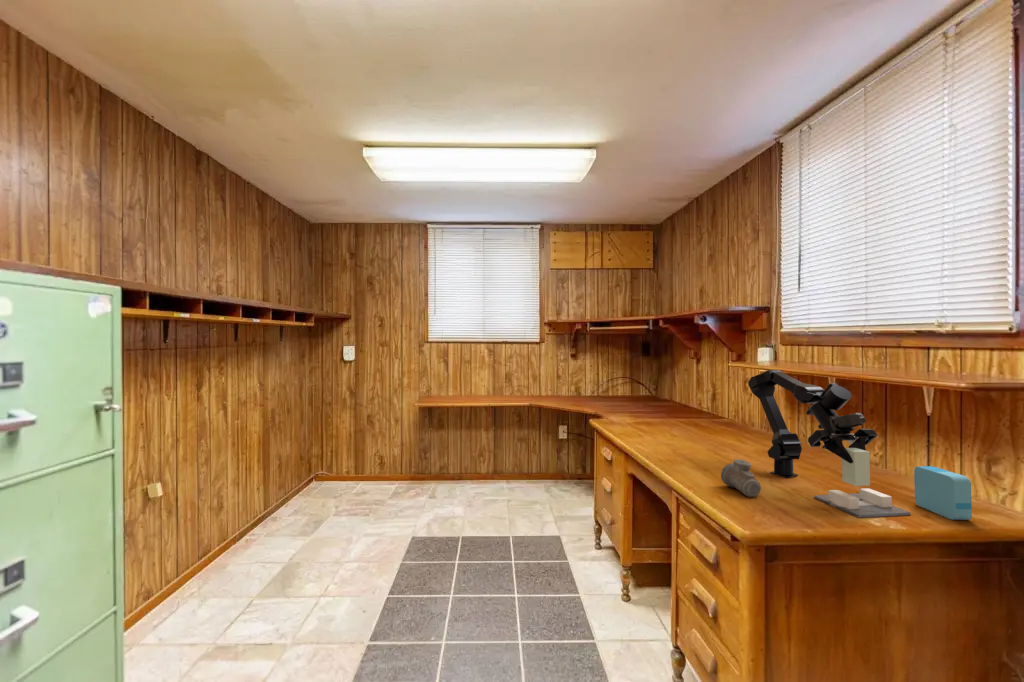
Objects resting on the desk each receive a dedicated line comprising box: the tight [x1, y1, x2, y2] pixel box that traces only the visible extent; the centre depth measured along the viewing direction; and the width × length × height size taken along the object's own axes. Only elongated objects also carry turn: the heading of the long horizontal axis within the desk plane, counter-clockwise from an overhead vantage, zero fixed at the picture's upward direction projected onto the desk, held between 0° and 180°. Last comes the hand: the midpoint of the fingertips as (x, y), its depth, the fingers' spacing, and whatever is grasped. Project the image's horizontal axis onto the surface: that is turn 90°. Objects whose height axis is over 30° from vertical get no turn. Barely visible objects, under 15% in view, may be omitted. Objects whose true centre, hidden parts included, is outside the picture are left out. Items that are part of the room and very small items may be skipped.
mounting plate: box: [813, 492, 911, 519], centre depth 122 cm, size 16×15×1 cm
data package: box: [913, 465, 973, 521], centre depth 117 cm, size 12×4×12 cm, turn 176°
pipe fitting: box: [720, 458, 762, 498], centre depth 135 cm, size 12×8×10 cm
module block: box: [841, 447, 871, 487], centre depth 122 cm, size 4×4×10 cm
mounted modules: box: [828, 488, 893, 509], centre depth 122 cm, size 14×7×3 cm, turn 95°
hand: (859, 462), depth 121 cm, fingers closed on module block, 4 cm apart
